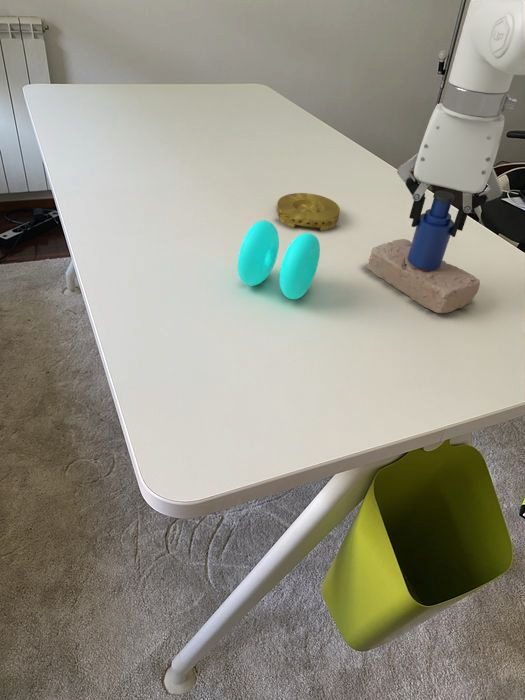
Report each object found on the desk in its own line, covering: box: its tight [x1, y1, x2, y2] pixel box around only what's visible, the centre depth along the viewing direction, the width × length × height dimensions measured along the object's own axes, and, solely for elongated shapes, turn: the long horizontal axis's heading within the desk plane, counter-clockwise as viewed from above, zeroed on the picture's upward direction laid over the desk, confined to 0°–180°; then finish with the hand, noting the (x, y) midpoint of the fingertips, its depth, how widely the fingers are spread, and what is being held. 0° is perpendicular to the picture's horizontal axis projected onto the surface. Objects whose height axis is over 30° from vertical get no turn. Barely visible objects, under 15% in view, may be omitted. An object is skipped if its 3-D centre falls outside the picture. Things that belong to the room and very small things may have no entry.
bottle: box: [408, 190, 455, 270], centre depth 83 cm, size 5×5×11 cm
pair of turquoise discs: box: [237, 220, 321, 300], centre depth 82 cm, size 10×10×10 cm
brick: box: [366, 238, 481, 314], centre depth 88 cm, size 17×8×5 cm, turn 35°
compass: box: [276, 192, 341, 232], centre depth 106 cm, size 12×12×2 cm
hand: (434, 227), depth 83 cm, fingers closed on bottle, 5 cm apart
